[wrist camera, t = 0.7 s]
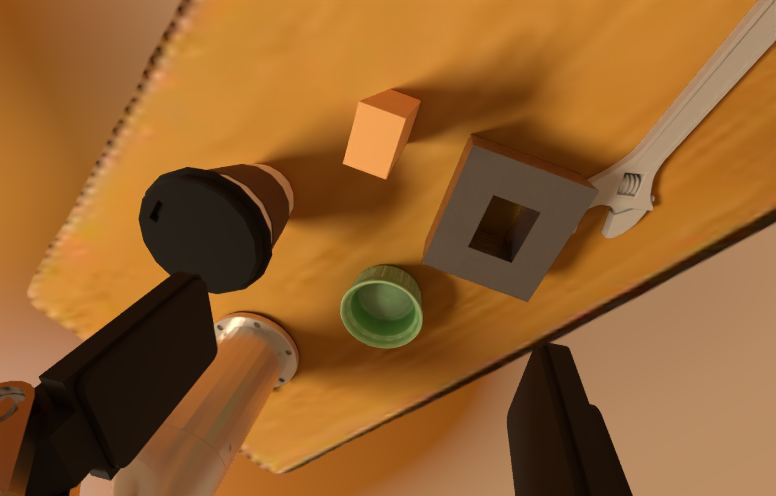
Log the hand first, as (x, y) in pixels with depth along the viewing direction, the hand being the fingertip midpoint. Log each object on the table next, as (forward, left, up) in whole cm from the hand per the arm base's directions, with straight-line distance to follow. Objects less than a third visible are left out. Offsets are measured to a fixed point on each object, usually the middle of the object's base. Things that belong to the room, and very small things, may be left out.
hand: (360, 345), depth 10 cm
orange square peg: (+2, +3, -27) cm, 27 cm away
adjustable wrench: (+10, -19, -28) cm, 35 cm away
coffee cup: (-10, +14, -27) cm, 33 cm away
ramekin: (-17, -2, -28) cm, 32 cm away
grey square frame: (-3, -9, -27) cm, 29 cm away
